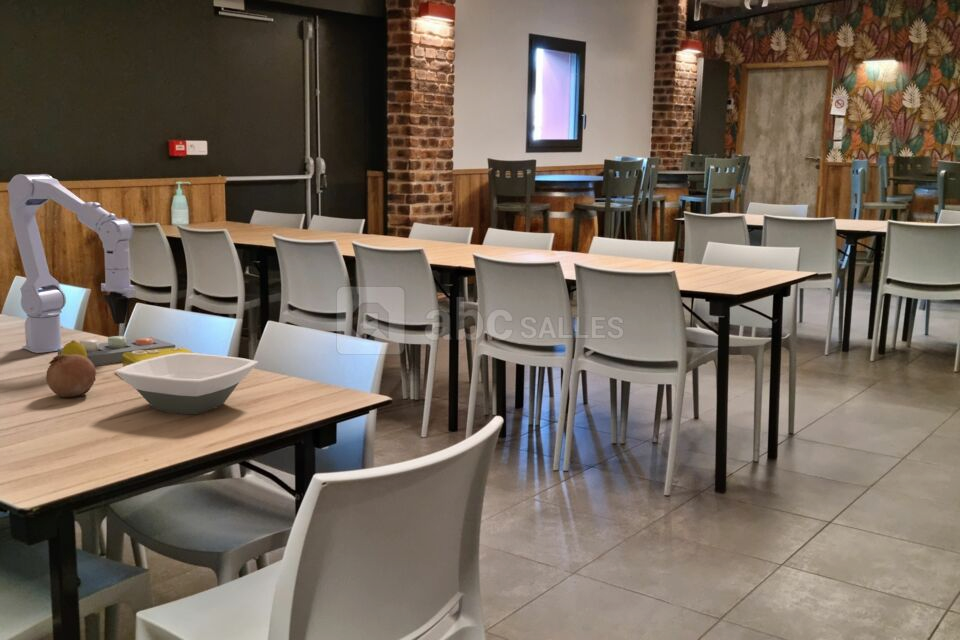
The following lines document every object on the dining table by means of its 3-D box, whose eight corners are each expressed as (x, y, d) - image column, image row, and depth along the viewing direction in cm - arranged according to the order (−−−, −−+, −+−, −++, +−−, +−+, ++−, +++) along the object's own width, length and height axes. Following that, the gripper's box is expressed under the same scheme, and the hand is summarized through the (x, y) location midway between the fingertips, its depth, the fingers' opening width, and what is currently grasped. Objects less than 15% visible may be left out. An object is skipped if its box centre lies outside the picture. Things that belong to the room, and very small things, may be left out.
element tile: (142, 383, 212) (141, 362, 211) (120, 370, 223) (119, 350, 222) (207, 375, 221) (206, 355, 220) (183, 363, 232) (182, 344, 231)
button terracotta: (132, 349, 241) (132, 339, 241) (148, 347, 244) (148, 337, 244) (140, 351, 238) (140, 341, 238) (156, 349, 241) (155, 339, 241)
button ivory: (77, 351, 231) (76, 340, 231) (94, 349, 234) (93, 338, 234) (84, 353, 228) (84, 343, 228) (101, 351, 231) (101, 341, 231)
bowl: (203, 427, 178) (202, 382, 177) (105, 413, 186) (103, 370, 184) (268, 400, 198) (268, 360, 197) (177, 388, 206) (176, 350, 205)
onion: (55, 413, 196) (29, 373, 191) (70, 390, 204) (45, 351, 200) (97, 398, 195) (71, 358, 190) (110, 376, 203) (86, 337, 199)
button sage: (105, 347, 236) (105, 337, 236) (121, 345, 239) (121, 335, 238) (112, 350, 233) (112, 339, 233) (129, 348, 236) (129, 337, 236)
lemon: (81, 378, 213) (80, 343, 212) (57, 377, 213) (55, 342, 212) (92, 372, 219) (90, 338, 217) (68, 372, 219) (66, 337, 218)
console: (58, 358, 232) (57, 348, 232) (151, 346, 249) (150, 337, 249) (80, 367, 223) (80, 357, 223) (175, 354, 240) (175, 344, 240)
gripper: (147, 270, 231) (148, 325, 234) (119, 264, 241) (121, 317, 243) (119, 272, 226) (121, 328, 229) (92, 266, 236) (94, 320, 238)
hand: (119, 323), depth 236 cm, fingers closed
